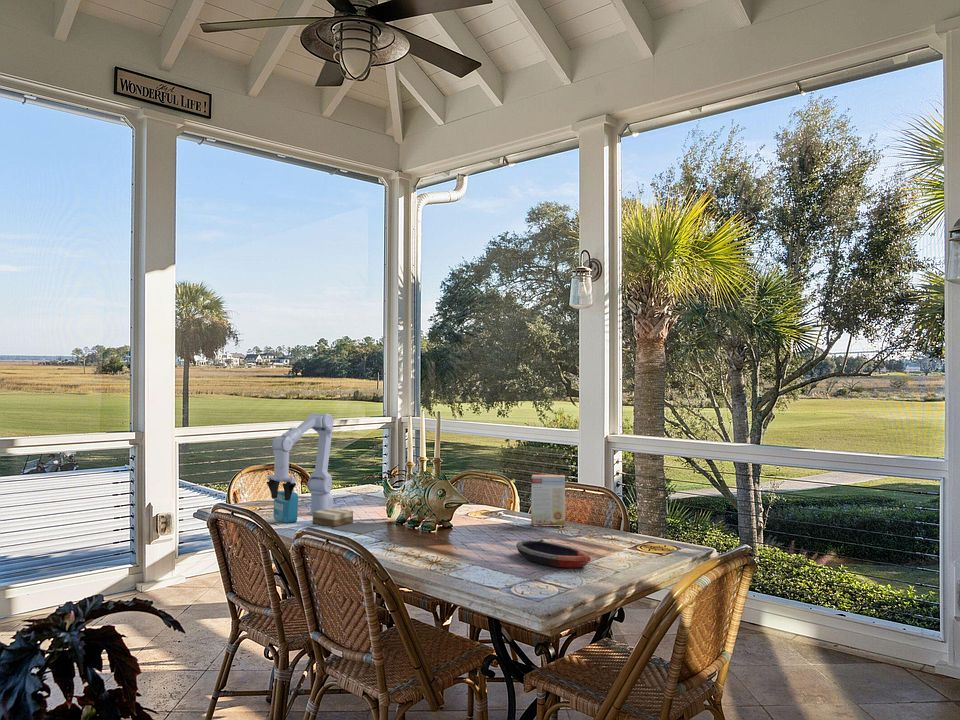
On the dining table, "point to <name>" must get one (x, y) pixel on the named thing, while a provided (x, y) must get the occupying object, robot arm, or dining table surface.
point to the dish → (552, 554)
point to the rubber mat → (359, 527)
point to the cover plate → (332, 513)
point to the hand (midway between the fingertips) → (281, 499)
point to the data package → (286, 508)
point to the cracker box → (548, 500)
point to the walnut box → (332, 521)
